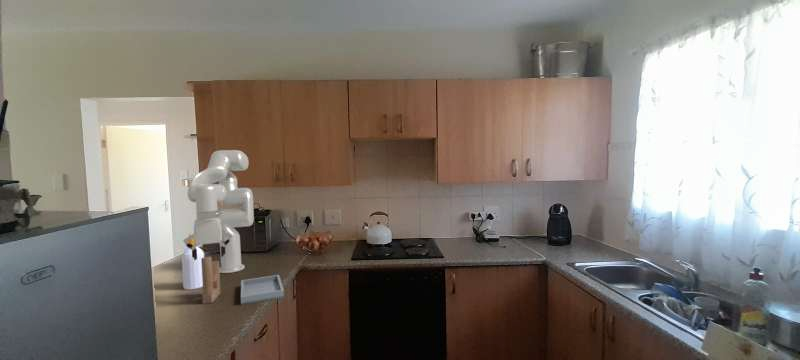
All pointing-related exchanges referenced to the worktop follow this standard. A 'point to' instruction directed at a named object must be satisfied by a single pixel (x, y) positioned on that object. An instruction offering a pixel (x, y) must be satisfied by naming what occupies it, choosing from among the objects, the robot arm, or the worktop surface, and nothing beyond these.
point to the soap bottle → (192, 268)
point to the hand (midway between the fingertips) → (209, 257)
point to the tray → (261, 289)
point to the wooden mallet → (210, 279)
